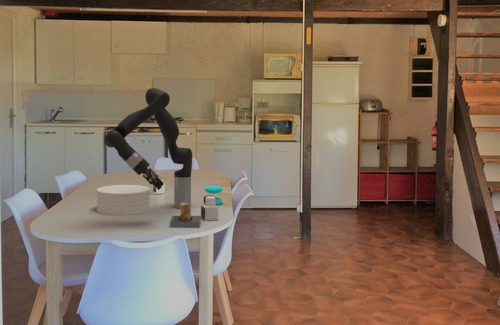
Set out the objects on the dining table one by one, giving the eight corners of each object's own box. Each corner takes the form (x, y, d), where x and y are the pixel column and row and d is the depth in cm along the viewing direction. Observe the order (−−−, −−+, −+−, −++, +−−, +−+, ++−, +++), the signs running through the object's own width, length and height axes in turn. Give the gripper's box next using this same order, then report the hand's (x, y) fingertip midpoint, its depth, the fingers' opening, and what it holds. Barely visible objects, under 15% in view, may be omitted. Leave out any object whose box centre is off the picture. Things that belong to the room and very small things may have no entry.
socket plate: (169, 227, 266) (169, 222, 266) (172, 220, 280) (172, 215, 280) (199, 227, 267) (199, 222, 266) (200, 220, 281) (200, 215, 280)
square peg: (180, 224, 271) (180, 204, 270) (181, 222, 276) (181, 202, 274) (189, 225, 271) (190, 204, 270) (190, 222, 276) (190, 203, 274)
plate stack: (155, 205, 316) (155, 185, 315) (141, 216, 288) (141, 194, 287) (107, 203, 319) (107, 183, 317) (88, 214, 291) (88, 192, 290)
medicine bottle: (200, 218, 287) (201, 195, 285) (214, 217, 289) (214, 194, 288) (204, 221, 280) (204, 197, 278) (218, 220, 282) (218, 196, 281)
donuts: (225, 187, 320) (208, 188, 316) (224, 204, 321) (208, 206, 317) (218, 185, 329) (202, 185, 325) (218, 201, 330) (202, 202, 326)
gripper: (140, 159, 261) (165, 184, 263) (145, 155, 275) (168, 179, 277) (129, 171, 262) (154, 195, 264) (134, 166, 276) (158, 189, 278)
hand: (161, 186), depth 271 cm, fingers open, 8 cm apart
